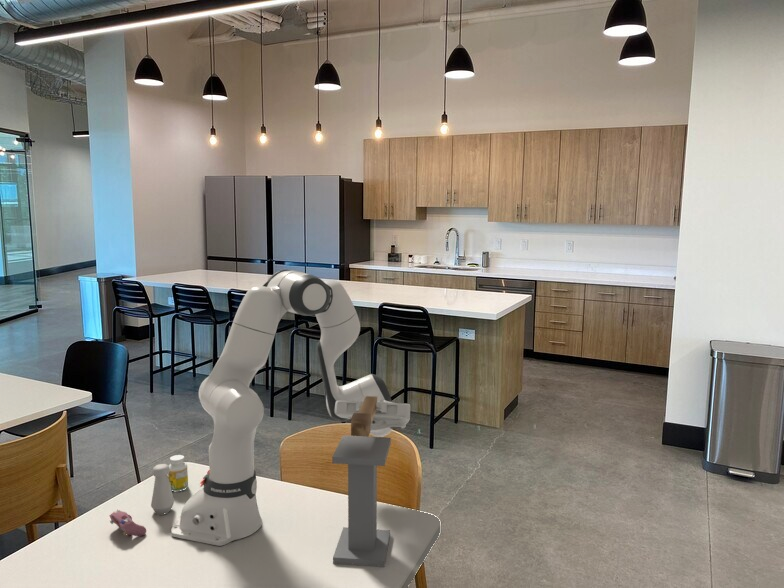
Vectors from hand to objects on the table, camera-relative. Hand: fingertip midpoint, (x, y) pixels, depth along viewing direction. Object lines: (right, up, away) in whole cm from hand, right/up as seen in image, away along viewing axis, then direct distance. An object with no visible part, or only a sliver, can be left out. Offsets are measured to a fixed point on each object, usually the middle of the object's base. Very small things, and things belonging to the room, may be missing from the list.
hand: (369, 404), depth 145 cm
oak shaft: (-1, -3, -6) cm, 7 cm away
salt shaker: (-57, -31, +10) cm, 66 cm away
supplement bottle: (-58, -29, +23) cm, 69 cm away
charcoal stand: (-1, -34, -7) cm, 34 cm away
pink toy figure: (-62, -33, 0) cm, 70 cm away
